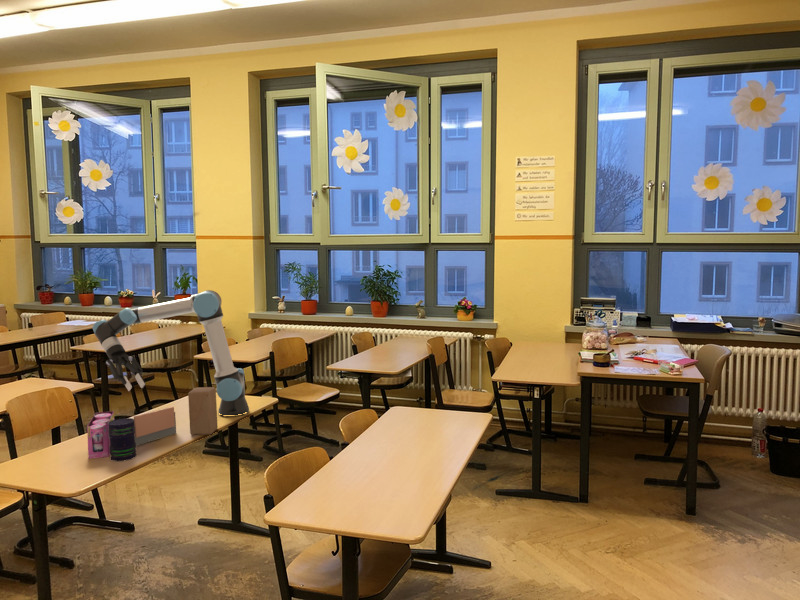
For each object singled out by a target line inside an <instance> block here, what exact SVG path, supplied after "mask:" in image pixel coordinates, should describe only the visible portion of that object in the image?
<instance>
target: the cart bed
mask: <svg viewBox="0 0 800 600" xmlns="http://www.w3.org/2000/svg"><path fill="white" fill-rule="evenodd" d="M174 418H175V426H174V427H171V428H167V429H164V430H160V431H157V432H154V433H150V434H147V435H143V436H140V437H137V438H136V437H135V442H136V447H137V446H140V445H143V444H146V443H149V442H153V441H157V440H159V439H163V438H166V437H169V435H170V436H172V434H173V435H175V433H176V434H177V420H176V411H174ZM134 436H135V434H134Z"/></svg>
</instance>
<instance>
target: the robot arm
mask: <svg viewBox="0 0 800 600" xmlns="http://www.w3.org/2000/svg"><path fill="white" fill-rule="evenodd" d="M191 313H193V314H196V316H197V321H198V323H200V324H201V325H202V326H203V328H204V333H205V336H206V340H207V344H208V347H209V350H210V354H211V357H212V361H213V367H214V368H215V373H214V376H213V378H214V381H215V385H216V387H215V389H216V395H217V396H218V397H219V398H220V399H221V401H220V404H219V408H218V409H217V413H218V414H219V413H220V414H222V415H238V414H243V413H245V412H248V411H249V412H250V407H249V405H248V402H247V399H246V392H245V389H246V388H245V387H246V386H245V369H244V368H241V367H240V368H239V367H238V368H237V367H235V366H234V363H233V360H232V355H231V350H230V348H229V343H228V340H227V336H226V333H225V329H224V325H223V323H222V322H223V321H222V320H223V317H224V313H223V310H222V298H221V296H220V294H219V293H218V292H217V291H214V290H212V289H211V290H210V289H207V290H204V291H202V292H198V293H195V294H192V295H190V297H186V298H181V299H176V300H175V299H174V300H170V301H166V302H165V301H164V302H160V303H155V304H151V305H150V304H149V305H145V306H140V307H135V308H129V307H125V308H124V309H122V310H120V311H119V312H118V313H116V314H115V315H114V316H112V317H111V318H109V320H107V319H100V320H99V321H96V322H95V323H93V324H92V330H93V333H94V335H95V337H96V338H97V340H98V342H99V343H100V345H101V347H102V348H103V351H104V352H105V353H106V355H107V357H108V359H107V360H106V361H105V365H106V366H107V367H108V369H109V371H110V373H111V374H112V376H113V378H114V380H118V381H119V382H121V383H122V385H123V386H125V388H126V389H127V391H128V392H130V391H131V389H132V388H133V386H132V384H131V382H130V381H129V380H128V377H127V376H126V375H124V371H123V367H122V366H124V367H125V368H127V369H128V370H129V371H130V372H131V373H132V374H133V375H135V376H134V378H135V380H136V382H137V383H138V386H139V387H140V388H141V389H144V387H145V385H146V383H145V381H144V378H143V376H142V374H143V371H144V370H143V368H142V367H141V366H140V364H139V362H138V361H137V359H136V356H135V354H133V355H131V356H130V355H128V353H127V352H126V350H125V348H124V347H123V345H122V343H121V341H120V340H119V338H118V336H117V335H118V334H119V333H121V332H122V331H123V330H125V329H126V328H128V327H130V326H133V325H137V324H141V323H145V322H146V323H147V322H152V321H156V320H157V321H158V320H161V319H167V318H171V317H177V316H181V315H187V314H191Z"/></svg>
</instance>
